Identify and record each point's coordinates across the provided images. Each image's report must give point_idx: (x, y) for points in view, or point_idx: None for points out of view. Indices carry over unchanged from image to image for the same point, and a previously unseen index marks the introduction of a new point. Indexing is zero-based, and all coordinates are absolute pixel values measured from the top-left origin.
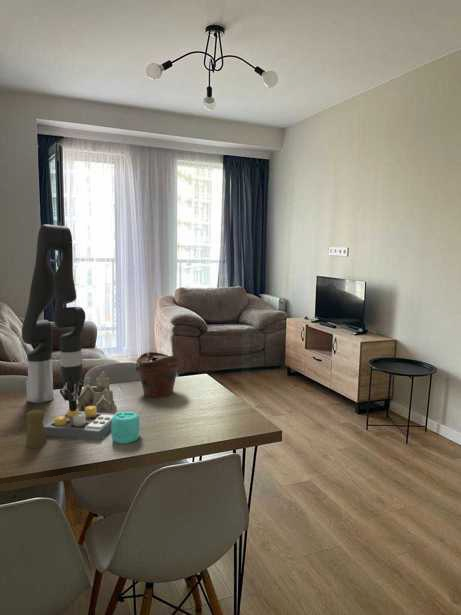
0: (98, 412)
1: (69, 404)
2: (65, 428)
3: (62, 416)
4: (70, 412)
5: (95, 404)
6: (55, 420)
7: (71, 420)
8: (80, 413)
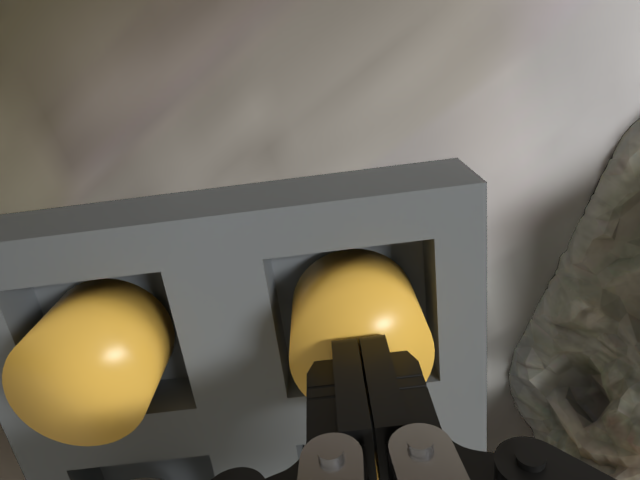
0: (551, 441)
1: (308, 420)
2: (23, 463)
3: (129, 378)
4: (292, 371)
5: (627, 456)
6: (5, 370)
7: (210, 401)
8: (438, 353)
